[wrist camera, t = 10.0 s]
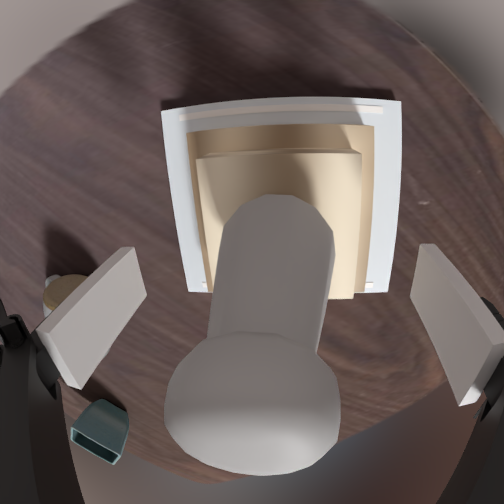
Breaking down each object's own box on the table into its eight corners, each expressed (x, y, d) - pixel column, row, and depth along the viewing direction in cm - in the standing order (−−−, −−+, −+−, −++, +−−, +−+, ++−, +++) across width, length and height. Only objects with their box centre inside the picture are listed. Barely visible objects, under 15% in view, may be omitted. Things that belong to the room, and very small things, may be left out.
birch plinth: (217, 273, 26) (197, 314, 20) (199, 130, 21) (168, 136, 15) (357, 272, 24) (371, 316, 19) (363, 124, 19) (388, 127, 14)
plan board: (191, 285, 28) (188, 292, 27) (166, 111, 21) (160, 111, 20) (384, 286, 25) (387, 292, 24) (396, 101, 18) (401, 101, 18)
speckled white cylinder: (115, 279, 29) (74, 322, 22) (122, 335, 33) (91, 378, 26) (47, 257, 30) (6, 288, 23) (59, 310, 34) (26, 344, 27)
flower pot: (130, 429, 45) (113, 465, 37) (90, 405, 44) (69, 440, 36) (140, 414, 41) (121, 456, 33) (94, 386, 40) (70, 426, 32)
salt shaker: (348, 245, 17) (410, 461, 5) (270, 293, 19) (236, 499, 7) (288, 162, 15) (272, 324, 4) (209, 222, 17) (83, 409, 6)
